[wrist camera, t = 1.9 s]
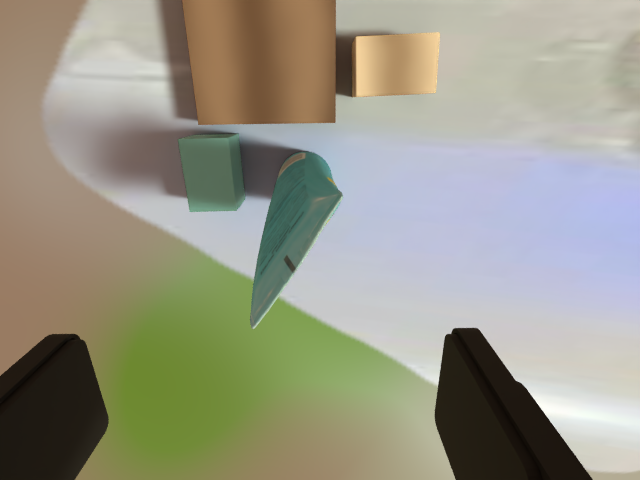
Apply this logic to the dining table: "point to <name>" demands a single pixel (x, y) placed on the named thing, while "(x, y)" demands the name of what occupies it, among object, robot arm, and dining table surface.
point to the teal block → (212, 172)
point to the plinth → (262, 60)
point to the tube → (292, 225)
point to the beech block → (395, 64)
